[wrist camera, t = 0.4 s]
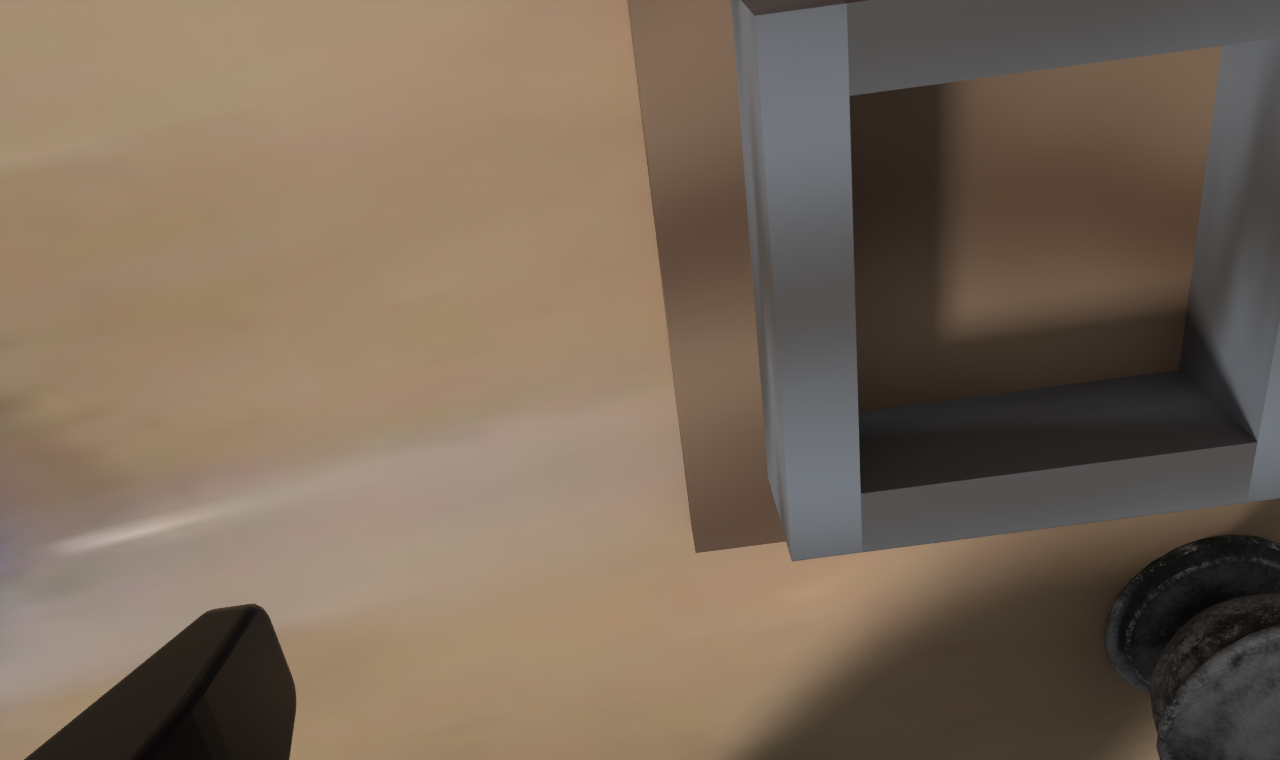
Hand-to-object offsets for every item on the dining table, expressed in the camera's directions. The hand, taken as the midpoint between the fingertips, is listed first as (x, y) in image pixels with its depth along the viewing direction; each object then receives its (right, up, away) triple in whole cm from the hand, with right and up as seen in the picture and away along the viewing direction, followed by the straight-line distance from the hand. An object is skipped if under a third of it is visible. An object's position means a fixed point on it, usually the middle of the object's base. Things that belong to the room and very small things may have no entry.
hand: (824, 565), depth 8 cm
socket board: (+6, +5, +13) cm, 15 cm away
